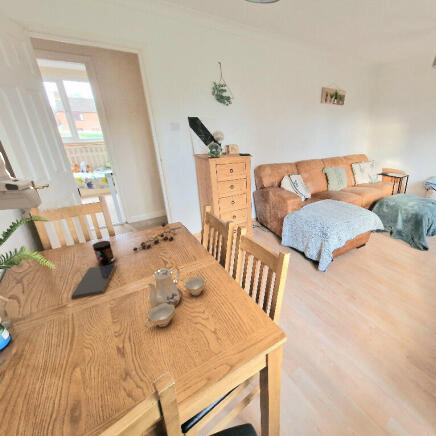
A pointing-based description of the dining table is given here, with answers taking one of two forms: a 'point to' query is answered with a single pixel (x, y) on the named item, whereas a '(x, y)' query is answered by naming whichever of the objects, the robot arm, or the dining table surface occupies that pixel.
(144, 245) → the decorative branch
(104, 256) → the supplement container
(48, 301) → the dining table surface
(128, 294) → the dining table surface
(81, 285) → the slate plate
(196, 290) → the chinaware
